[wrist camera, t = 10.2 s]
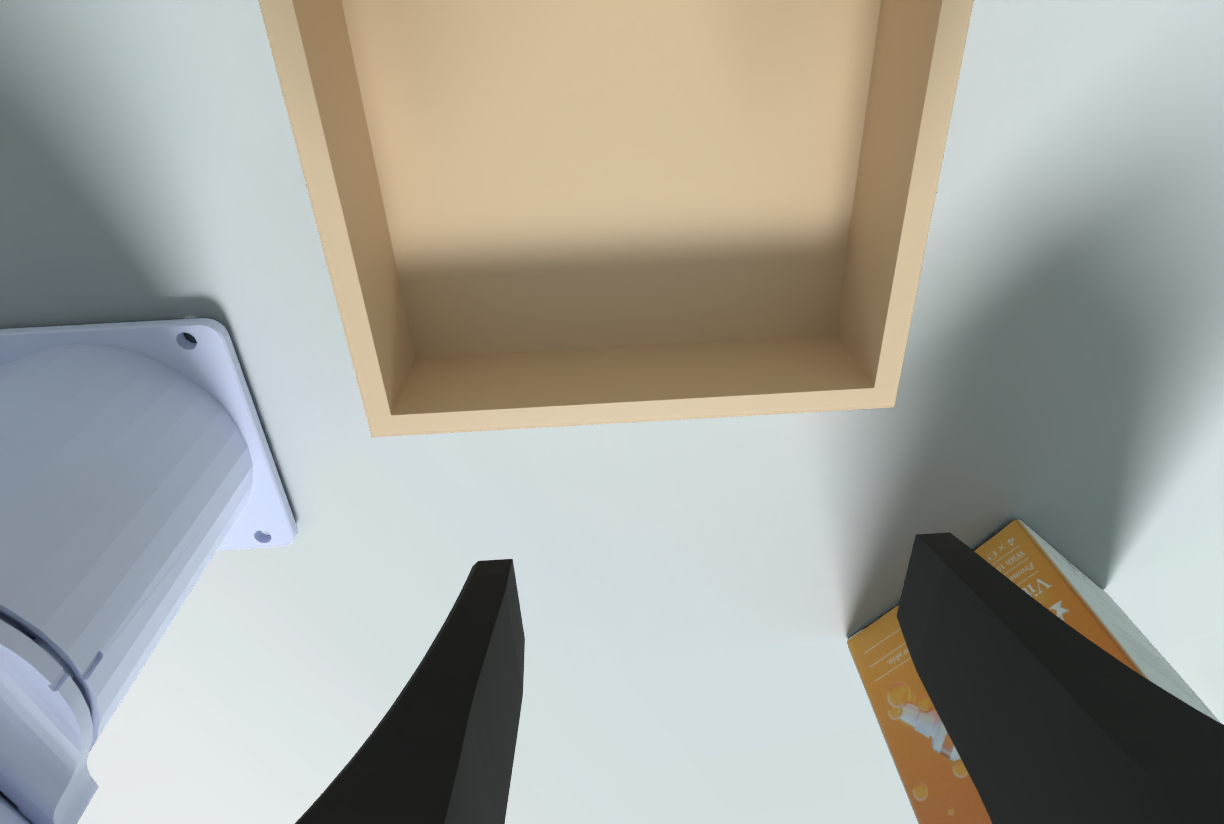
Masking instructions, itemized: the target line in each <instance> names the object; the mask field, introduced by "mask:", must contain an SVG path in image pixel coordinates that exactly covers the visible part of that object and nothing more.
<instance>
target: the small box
mask: <svg viewBox="0 0 1224 824" xmlns="http://www.w3.org/2000/svg"><path fill="white" fill-rule="evenodd" d="M974 552H976V553H977V554H978V555H979V556H981V557H982V558H983V559H984V560H986V561H987V562H988V563H990V564H991V565H992V566H993V567H995V568H996V569H997V570H998V571H1000V572H1001V573H1002V574H1003V575H1005V576H1006V577H1007V578H1008V579H1010V580H1011V581H1012V582H1013V583H1015V584H1016V585H1017V586H1018V587H1020V588H1021V589H1022V590H1024V591H1025V592H1026V593H1027V594H1029V595H1030V596H1031V597H1033V598H1034V599H1035V600H1036V601H1038V602H1039V603H1040V604H1042V605H1043V606H1044V607H1046V608H1047V609H1048V610H1049V611H1051V612H1052V613H1053V614H1055V615H1056V616H1057V617H1059V618H1060V619H1061V620H1063V621H1064V622H1065V623H1067V624H1068V625H1070V626H1071V627H1072V628H1074V629H1075V630H1076V631H1078V632H1079V633H1081V634H1082V635H1083V636H1085V637H1086V638H1087V639H1089V640H1090V641H1092V642H1093V643H1095V644H1096V645H1098V646H1099V647H1100V648H1102V649H1103V650H1105V651H1106V652H1108V653H1109V654H1110V655H1112V656H1113V657H1115V658H1116V659H1118V660H1119V661H1121V662H1122V663H1123V664H1125V665H1126V666H1128V667H1129V668H1131V669H1132V670H1134V671H1136V672H1137V673H1139V674H1140V675H1142V676H1143V677H1145V678H1146V679H1148V680H1149V681H1151V682H1153V683H1154V684H1156V685H1158V686H1159V687H1161V688H1162V689H1164V690H1166V691H1167V692H1169V693H1171V694H1172V695H1174V696H1175V697H1177V698H1179V699H1180V700H1182V701H1184V702H1185V703H1187V704H1188V705H1190V706H1192V707H1193V708H1195V709H1197V710H1198V711H1200V712H1202V713H1204V714H1205V715H1207V716H1209V717H1211V718H1212V719H1214V720H1216V721H1218V722H1219V720H1218V719H1217V718H1216V717H1215V716H1214V715H1213V713H1212V712H1211V711H1210V710H1209V709H1208V707H1207V706H1206V705H1205V704H1204V703H1203V702H1202V700H1201V699H1200V698H1199V697H1198V696H1197V695H1196V694H1195V692H1194V691H1193V690H1192V689H1191V688H1190V687H1189V686H1188V684H1187V683H1186V682H1185V681H1184V680H1183V679H1182V678H1181V676H1180V675H1179V674H1178V673H1177V672H1176V671H1175V670H1174V668H1173V667H1172V666H1171V665H1170V664H1169V663H1168V662H1167V661H1166V659H1165V658H1164V657H1163V656H1162V655H1161V654H1160V653H1159V652H1158V650H1157V649H1156V648H1155V647H1154V646H1153V645H1152V644H1151V643H1150V641H1149V640H1148V639H1147V638H1146V637H1145V636H1144V635H1143V633H1142V632H1141V631H1140V630H1139V629H1138V628H1137V627H1136V625H1135V624H1134V623H1133V622H1132V621H1131V620H1130V619H1129V617H1128V616H1127V615H1126V614H1125V613H1124V612H1123V610H1122V609H1121V608H1120V607H1119V606H1118V605H1117V604H1116V603H1115V602H1114V600H1113V599H1112V598H1111V597H1110V596H1109V595H1108V594H1107V593H1106V592H1104V591H1103V590H1102V589H1101V588H1100V587H1098V586H1097V585H1096V584H1095V583H1094V582H1092V581H1091V580H1090V579H1089V578H1088V577H1086V576H1085V575H1084V574H1083V573H1082V572H1081V571H1079V570H1078V569H1077V568H1076V567H1075V566H1074V565H1072V564H1071V563H1070V562H1069V561H1068V560H1067V559H1065V558H1064V557H1063V556H1062V555H1061V554H1060V553H1058V552H1057V551H1056V550H1055V549H1054V548H1053V547H1051V546H1050V545H1049V544H1048V543H1047V542H1046V541H1045V540H1043V539H1042V538H1041V537H1040V536H1039V535H1038V534H1036V533H1035V532H1034V531H1033V530H1032V529H1030V528H1029V527H1028V526H1027V525H1026V524H1025V523H1024V522H1022V521H1021V520H1019V519H1016V520H1014V521H1012V522H1011V523H1010V524H1009V525H1007V526H1006V527H1005V528H1003V529H1002V530H1001V531H1000V532H999V533H997V534H996V535H995V536H993V537H992V538H991V539H989V540H988V541H987V542H985V543H984V544H983V545H981V546H980V547H979V548H977V549H976V550H975V551H974ZM898 607H899V605H898V606H896V607H895V608H893V609H892V610H890V611H889V612H888V613H886V614H885V615H883V616H882V617H881V618H879V619H878V620H876V621H875V622H873V623H872V624H871V625H869V626H868V627H866V628H865V629H863V630H860V631H858V632H857V633H856V634H854V635H853V636H851V637H850V638H849V639H848V641H847V644H848V648H849V650H850V653H851V656H852V658H853V660H854V663H855V665H856V668H857V670H858V673H859V675H860V678H861V680H862V683H863V685H864V688H865V690H866V693H867V695H868V698H869V700H870V703H871V705H872V708H873V711H874V713H875V716H876V718H877V721H878V723H879V726H880V729H881V731H882V734H883V736H884V739H885V741H886V744H887V746H888V749H889V751H890V754H891V756H892V759H893V761H894V764H895V766H896V769H897V771H898V774H899V776H900V779H901V781H902V783H903V786H904V788H905V791H906V793H907V796H908V799H909V801H910V804H911V806H912V808H913V811H914V813H915V816H916V818H917V821H918V823H919V824H992V822H991V819H990V817H989V815H988V813H987V811H986V808H985V806H984V804H983V802H982V800H981V798H980V795H979V793H978V791H977V789H976V787H975V785H974V783H973V781H972V779H971V777H970V775H969V774H968V772H967V770H966V768H965V766H964V764H963V762H962V760H961V758H960V756H959V754H958V752H957V750H956V748H955V746H954V744H953V742H952V740H951V738H950V737H949V735H948V733H947V731H946V729H945V727H944V725H943V723H942V721H941V719H940V717H939V715H938V713H937V711H936V709H935V707H934V705H933V703H932V701H931V699H930V697H929V695H928V693H927V691H926V689H925V687H924V685H923V683H922V681H921V679H920V677H919V675H918V673H917V671H916V669H915V666H914V664H913V661H912V658H911V656H910V653H909V650H908V648H907V645H906V642H905V639H904V636H903V633H902V630H901V628H900V625H899V622H898V619H897V612H898ZM1219 723H1220V722H1219Z"/></svg>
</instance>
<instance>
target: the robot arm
mask: <svg viewBox="0 0 1224 824" xmlns="http://www.w3.org/2000/svg"><path fill="white" fill-rule="evenodd" d="M183 332H185V333H189V334H191V335H192V336H194V338H195V339H196V341H197V344H195V343H191V342H189V341H188V340H186V338H185V337H184V336H183ZM260 530H261V531H266V532H268V533H269V534H270V535H267V534H264V533H262V532H261V531H260ZM297 533H298V530H297V525H296V523H295V520H294V517H293V514H292V511H291V508H290V506H289V503H288V500H287V497H286V494H285V491H284V489H283V486H282V483H281V480H280V477H279V474H278V472H277V469H276V466H275V463H274V460H273V457H272V455H271V452H270V449H269V446H268V443H267V441H266V438H265V435H264V432H263V429H262V426H261V424H260V421H259V418H258V415H257V412H256V409H255V407H254V404H253V401H252V398H251V395H250V392H249V390H248V387H247V384H246V381H245V378H244V375H243V373H242V370H241V367H240V364H239V361H238V358H237V356H236V353H235V350H234V347H233V344H232V341H231V339H230V336H229V333H228V331H227V330H226V328H225V327H224V326H223V325H222V324H221V323H220V322H218V321H215V320H213V319H208V318H197V319H178V320H160V321H141V322H123V323H104V324H86V325H67V326H49V327H30V328H12V329H0V824H77V822H78V821H79V819H80V817H81V816H82V814H83V812H84V811H85V809H86V807H87V805H88V804H89V802H90V800H91V799H92V797H93V795H94V794H95V792H96V790H97V789H98V785H97V783H96V782H95V781H94V779H93V778H92V777H91V776H90V774H89V771H88V769H87V758H88V754H89V752H90V750H91V749H92V747H93V745H94V744H95V742H96V741H97V739H98V738H99V736H100V734H101V733H102V731H103V730H104V728H105V726H106V725H107V723H108V722H109V720H110V719H111V717H112V715H113V714H114V712H115V711H116V709H117V707H118V706H119V704H120V703H121V701H122V700H123V698H124V696H125V695H126V693H127V692H128V690H129V689H130V687H131V685H132V684H133V682H134V681H135V679H136V677H137V676H138V674H139V673H140V671H141V670H142V668H143V666H144V665H145V663H146V662H147V660H148V658H149V657H150V655H151V654H152V652H153V651H154V649H155V647H156V646H157V644H158V643H159V641H160V639H161V638H162V636H163V635H164V633H165V632H166V630H167V628H168V627H169V625H170V624H171V622H172V621H173V619H174V617H175V616H176V614H177V613H178V611H179V609H180V608H181V606H182V605H183V603H184V602H185V600H186V598H187V597H188V595H189V594H190V592H191V590H192V589H193V587H194V586H195V584H196V583H197V581H198V579H199V578H200V576H201V575H202V573H203V572H204V570H205V568H206V567H207V565H208V564H209V562H210V560H211V559H212V557H213V556H214V554H215V553H216V551H217V550H232V549H248V548H265V547H282V546H287V545H290V544H291V543H293V541H294V539H295V537H296V535H297ZM897 619H898V622H899V625H900V628H901V630H902V633H903V636H904V639H905V642H906V645H907V648H908V650H909V653H910V656H911V658H912V661H913V664H914V666H915V669H916V671H917V673H918V675H919V677H920V679H921V681H922V683H923V685H924V687H925V689H926V691H927V693H928V695H929V697H930V699H931V701H932V703H933V705H934V707H935V709H936V711H937V713H938V715H939V717H940V719H941V721H942V723H943V725H944V727H945V729H946V731H947V733H948V735H949V737H950V738H951V740H952V742H953V744H954V746H955V748H956V750H957V752H958V754H959V756H960V758H961V760H962V762H963V764H964V766H965V768H966V770H967V772H968V774H969V775H970V777H971V779H972V781H973V783H974V785H975V787H976V789H977V791H978V793H979V795H980V798H981V800H982V802H983V804H984V806H985V808H986V811H987V813H988V815H989V817H990V819H991V822H992V824H1224V725H1223V724H1221V723H1219V722H1218V721H1216V720H1214V719H1212V718H1211V717H1209V716H1207V715H1205V714H1204V713H1202V712H1200V711H1198V710H1197V709H1195V708H1193V707H1192V706H1190V705H1188V704H1187V703H1185V702H1184V701H1182V700H1180V699H1179V698H1177V697H1175V696H1174V695H1172V694H1171V693H1169V692H1167V691H1166V690H1164V689H1162V688H1161V687H1159V686H1158V685H1156V684H1154V683H1153V682H1151V681H1149V680H1148V679H1146V678H1145V677H1143V676H1142V675H1140V674H1139V673H1137V672H1136V671H1134V670H1132V669H1131V668H1129V667H1128V666H1126V665H1125V664H1123V663H1122V662H1121V661H1119V660H1118V659H1116V658H1115V657H1113V656H1112V655H1110V654H1109V653H1108V652H1106V651H1105V650H1103V649H1102V648H1100V647H1099V646H1098V645H1096V644H1095V643H1093V642H1092V641H1090V640H1089V639H1087V638H1086V637H1085V636H1083V635H1082V634H1081V633H1079V632H1078V631H1076V630H1075V629H1074V628H1072V627H1071V626H1070V625H1068V624H1067V623H1065V622H1064V621H1063V620H1061V619H1060V618H1059V617H1057V616H1056V615H1055V614H1053V613H1052V612H1051V611H1049V610H1048V609H1047V608H1046V607H1044V606H1043V605H1042V604H1040V603H1039V602H1038V601H1036V600H1035V599H1034V598H1033V597H1031V596H1030V595H1029V594H1027V593H1026V592H1025V591H1024V590H1022V589H1021V588H1020V587H1018V586H1017V585H1016V584H1015V583H1013V582H1012V581H1011V580H1010V579H1008V578H1007V577H1006V576H1005V575H1003V574H1002V573H1001V572H1000V571H998V570H997V569H996V568H995V567H993V566H992V565H991V564H990V563H988V562H987V561H986V560H984V559H983V558H982V557H981V556H979V555H978V554H977V553H976V552H974V551H973V550H972V549H971V548H969V547H968V546H967V545H966V544H964V543H963V542H962V541H960V540H959V539H958V538H956V537H955V536H954V535H952V534H951V533H936V534H919V535H916V537H915V541H914V545H913V549H912V553H911V557H910V562H909V566H908V570H907V574H906V578H905V582H904V587H903V591H902V595H901V599H900V603H899V607H898V612H897ZM524 643H525V638H524V631H523V625H522V618H521V612H520V605H519V599H518V592H517V585H516V579H515V572H514V566H513V559H504V560H488V561H478V562H477V563H476V564H475V565H474V566H473V567H472V569H471V571H470V573H469V576H468V578H467V580H466V582H465V584H464V586H463V588H462V590H461V592H460V594H459V596H458V598H457V600H456V602H455V604H454V606H453V608H452V610H451V612H450V613H449V615H448V617H447V619H446V621H445V623H444V624H443V626H442V628H441V629H440V631H439V633H438V635H437V636H436V638H435V640H434V641H433V643H432V645H431V646H430V648H429V650H428V651H427V653H426V655H425V657H424V658H423V660H422V661H421V663H420V665H419V666H418V668H417V669H416V671H415V672H414V674H413V675H412V677H411V678H410V680H409V681H408V683H407V684H406V686H405V687H404V689H403V690H402V692H401V693H400V695H399V696H398V698H397V699H396V701H395V702H394V704H393V705H392V706H391V708H390V709H389V711H388V712H387V713H386V715H385V716H384V718H383V719H382V720H381V722H380V723H379V724H378V726H377V727H376V728H375V730H374V731H373V732H372V734H371V735H370V736H369V738H368V739H367V740H366V741H365V743H364V744H363V745H362V747H361V748H360V749H359V750H358V752H357V753H356V754H355V755H354V757H353V758H352V759H351V760H350V762H349V763H348V764H347V765H346V766H345V767H344V769H343V770H342V771H341V772H340V773H339V774H338V776H337V777H336V778H335V779H334V780H333V782H332V783H331V784H330V785H329V786H328V787H327V789H326V790H325V791H324V792H323V793H322V794H321V796H320V797H319V798H318V799H317V800H316V801H315V802H314V803H313V805H312V806H311V807H310V808H309V809H308V810H307V811H306V812H305V813H304V814H303V815H302V817H301V818H300V819H299V820H298V821H297V822H296V823H295V824H504V823H505V816H506V809H507V802H508V795H509V788H510V781H511V774H512V767H513V760H514V753H515V746H516V739H517V732H518V725H519V718H520V711H521V703H522V696H523V675H524Z"/></svg>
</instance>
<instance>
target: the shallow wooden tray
mask: <svg viewBox="0 0 1224 824" xmlns="http://www.w3.org/2000/svg"><path fill="white" fill-rule="evenodd" d="M973 2H974V0H259V4H260V8H261V12H262V16H263V20H264V23H265V27H266V31H267V35H268V39H269V43H270V47H271V50H272V54H273V58H274V62H275V66H276V70H277V73H278V77H279V81H280V85H281V89H282V93H283V97H284V100H285V104H286V108H287V112H288V116H289V120H290V124H291V127H292V131H293V135H294V139H295V143H296V147H297V151H298V154H299V158H300V162H301V166H302V170H303V174H304V178H305V181H306V185H307V189H308V193H309V197H310V201H311V205H312V208H313V212H314V216H315V220H316V224H317V228H318V232H319V235H320V239H321V243H322V247H323V251H324V255H325V259H326V262H327V266H328V270H329V274H330V278H331V282H332V286H333V289H334V293H335V297H336V301H337V305H338V309H339V313H340V316H341V320H342V324H343V328H344V332H345V336H346V340H347V343H348V347H349V351H350V355H351V359H352V363H353V367H354V370H355V374H356V378H357V382H358V386H359V390H360V394H361V397H362V401H363V405H364V409H365V413H366V417H367V421H368V424H369V428H370V432H371V436H372V437H384V436H401V435H419V434H436V433H454V432H471V431H489V430H506V429H524V428H541V427H559V426H576V425H594V424H611V423H629V422H646V421H664V420H681V419H699V418H716V417H734V416H751V415H769V414H786V413H804V412H821V411H839V410H856V409H874V408H891V407H894V406H895V401H896V395H897V390H898V385H899V380H900V375H901V370H902V365H903V360H904V355H905V349H906V344H907V339H908V334H909V329H910V324H911V319H912V314H913V309H914V303H915V298H916V293H917V288H918V283H919V278H920V273H921V268H922V263H923V257H924V252H925V247H926V242H927V237H928V232H929V227H930V222H931V216H932V211H933V206H934V201H935V196H936V191H937V186H938V181H939V176H940V170H941V165H942V160H943V155H944V150H945V145H946V140H947V135H948V130H949V124H950V119H951V114H952V109H953V104H954V99H955V94H956V89H957V83H958V78H959V73H960V68H961V63H962V58H963V53H964V48H965V43H966V37H967V32H968V27H969V22H970V17H971V12H972V7H973Z"/></svg>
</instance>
